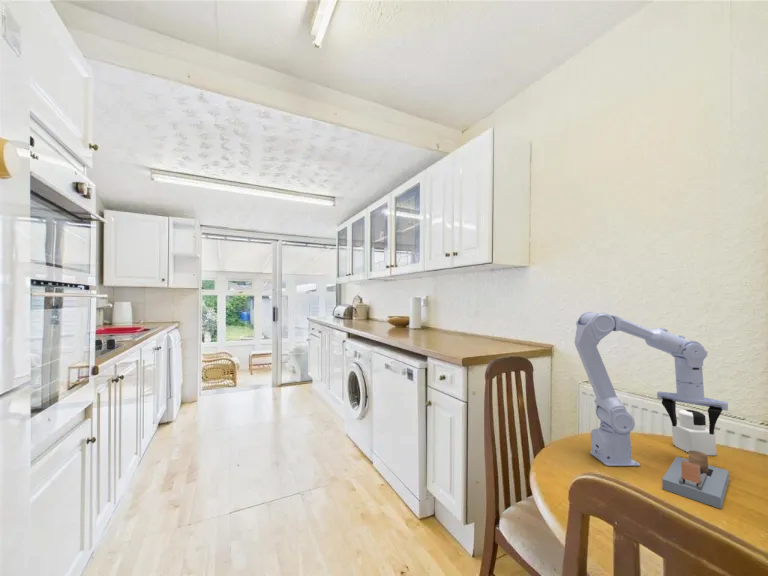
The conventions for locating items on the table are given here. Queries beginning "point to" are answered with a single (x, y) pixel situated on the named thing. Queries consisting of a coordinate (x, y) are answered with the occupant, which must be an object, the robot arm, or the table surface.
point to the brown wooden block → (699, 460)
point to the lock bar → (691, 473)
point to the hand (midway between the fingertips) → (692, 429)
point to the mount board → (706, 491)
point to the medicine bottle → (693, 433)
